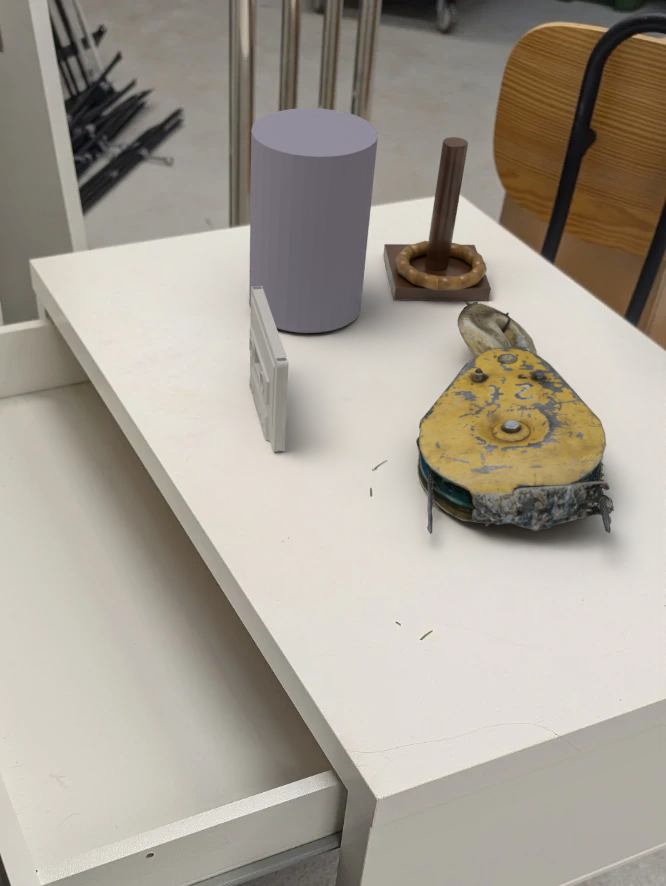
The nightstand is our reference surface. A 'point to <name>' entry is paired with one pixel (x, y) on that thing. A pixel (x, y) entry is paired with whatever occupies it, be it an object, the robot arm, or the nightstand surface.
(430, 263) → the peg stand
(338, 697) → the nightstand surface
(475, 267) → the ring
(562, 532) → the nightstand surface
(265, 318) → the cassette
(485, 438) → the pulley block
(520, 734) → the nightstand surface
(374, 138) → the container
